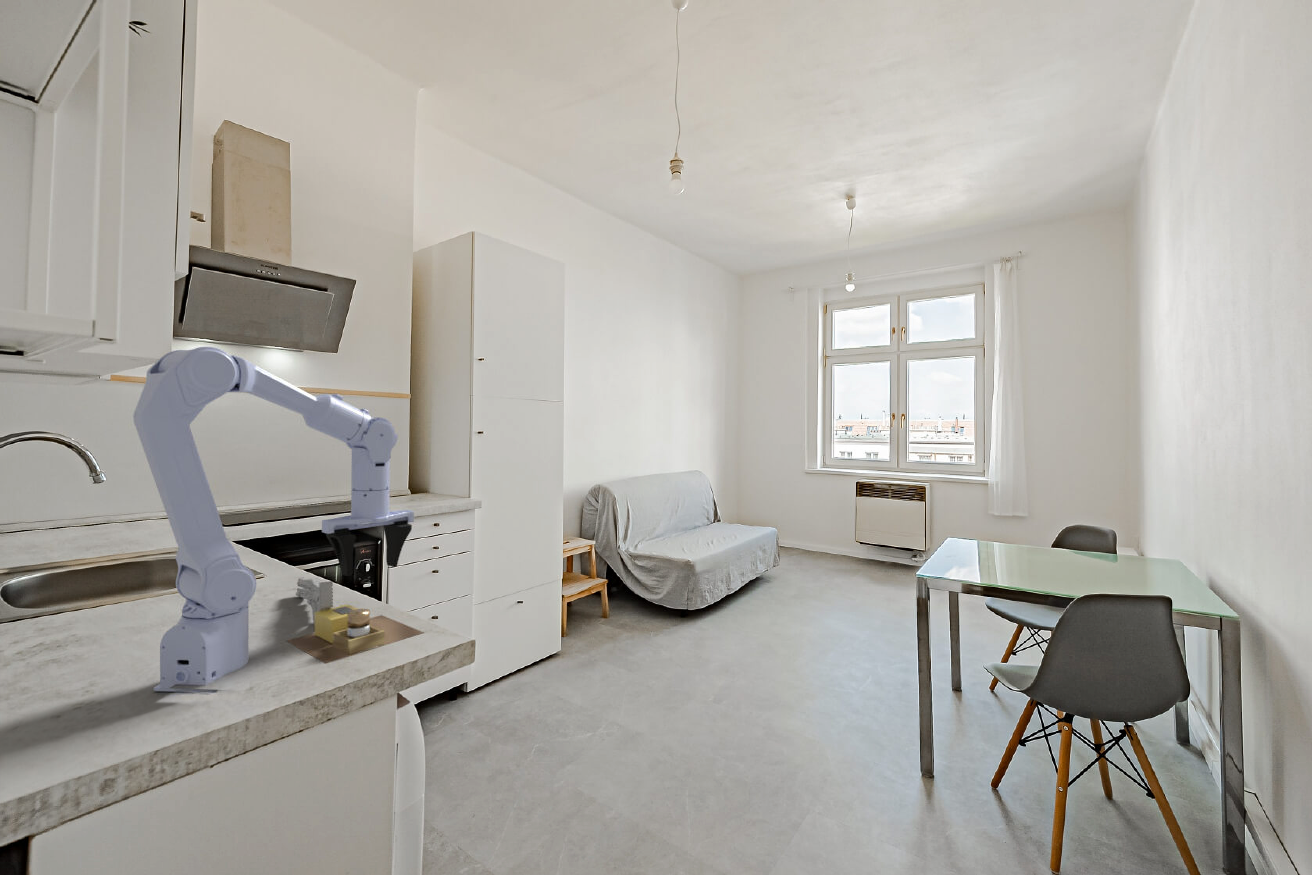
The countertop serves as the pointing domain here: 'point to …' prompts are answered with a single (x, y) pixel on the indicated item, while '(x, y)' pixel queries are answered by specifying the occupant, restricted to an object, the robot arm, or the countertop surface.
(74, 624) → the countertop surface
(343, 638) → the board
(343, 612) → the block
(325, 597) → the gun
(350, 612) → the silver and brown cylinder
